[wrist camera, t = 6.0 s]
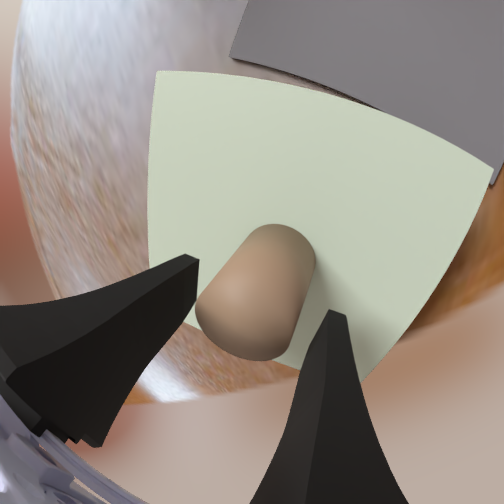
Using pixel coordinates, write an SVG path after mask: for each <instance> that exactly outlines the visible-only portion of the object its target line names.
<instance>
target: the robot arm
mask: <svg viewBox="0 0 504 504" xmlns="http://www.w3.org/2000/svg"><path fill="white" fill-rule="evenodd" d="M199 262H200V259H198V258H195V257H193V256H190V255H188V254H183V255H180V256H178V257H175V258H173V259H171V260H168V261H166V262H164V263H162V264H160V265H157V266H155V267H153V268H150V269H148V270H146V271H144V272H141V273H139V274H137V275H134V276H132V277H129V278H127V279H124V280H122V281H119V282H116V283H114V284H111V285H109V286H106V287H103V288H100V289H97V290H94V291H91V292H87V293H84V294H80V295H77V296H72V297H68V298H63V299H59V300H54V301H49V302H43V303H36V304H27V305H12V306H0V504H106V503H105V502H103V501H102V500H100V499H98V498H97V497H95V496H94V495H92V494H91V493H89V492H88V491H87V490H85V489H84V488H82V487H81V486H80V485H78V484H77V483H75V482H74V481H73V480H74V479H75V478H74V476H75V477H76V478H77V479H79V480H80V481H81V482H82V483H84V484H85V485H86V486H87V487H89V488H90V489H91V490H93V491H94V492H95V493H97V494H98V495H100V496H101V497H102V498H104V499H105V500H107V501H108V502H110V503H111V504H148V503H147V502H145V501H143V500H141V499H140V498H138V497H136V496H134V495H132V494H131V493H129V492H128V491H126V490H125V489H123V488H122V487H120V486H119V485H117V484H115V483H114V482H112V481H111V480H110V479H108V478H107V477H105V476H104V475H103V474H101V473H100V472H98V471H97V470H96V469H95V468H93V467H92V466H91V465H89V464H88V463H87V462H86V461H84V460H83V459H82V458H81V457H79V456H78V455H77V454H76V453H75V452H73V451H72V450H71V449H70V448H69V447H68V446H66V445H65V442H66V441H67V439H68V438H69V439H70V440H72V441H73V442H74V443H75V444H77V443H78V442H79V440H80V439H82V440H83V441H85V442H86V443H88V444H89V445H90V446H91V447H94V448H96V447H102V445H103V442H104V440H105V438H106V436H107V434H108V432H109V429H110V427H111V425H112V423H113V421H114V420H115V418H116V416H117V414H118V412H119V410H120V408H121V407H122V405H123V403H124V401H125V400H126V398H127V396H128V395H129V393H130V391H131V390H132V388H133V386H134V385H135V383H136V382H137V380H138V379H139V377H140V375H141V374H142V372H143V371H144V369H145V368H146V367H147V365H148V364H149V363H150V361H151V360H152V359H153V358H154V357H155V355H156V354H157V353H158V352H159V351H160V349H161V348H162V347H163V346H164V345H165V343H166V342H167V341H168V340H169V339H170V337H171V336H172V335H173V334H174V332H175V331H176V330H177V329H178V328H179V326H180V325H181V324H182V323H183V321H184V320H185V318H186V317H187V315H188V314H189V312H190V310H191V309H192V307H193V306H194V304H195V302H196V301H197V288H198V274H199ZM39 444H40V445H41V446H42V447H43V448H44V449H45V450H46V451H45V450H44V449H42V448H41V447H39ZM72 474H73V475H74V476H73V475H72ZM250 504H409V503H408V502H407V500H406V498H405V497H404V495H403V494H402V491H401V490H400V488H399V486H398V484H397V482H396V480H395V478H394V476H393V474H392V472H391V470H390V467H389V465H388V463H387V460H386V458H385V456H384V453H383V451H382V449H381V446H380V444H379V442H378V439H377V436H376V433H375V431H374V428H373V425H372V422H371V419H370V416H369V413H368V409H367V406H366V403H365V399H364V396H363V392H362V388H361V384H360V380H359V376H358V372H357V368H356V363H355V359H354V354H353V349H352V344H351V339H350V333H349V327H348V321H347V317H346V315H345V314H342V313H339V312H336V311H334V310H331V309H329V310H328V311H327V313H326V315H325V317H324V319H323V321H322V323H321V325H320V327H319V328H318V330H317V332H316V334H315V336H314V338H313V339H312V341H311V343H310V345H309V347H308V350H307V353H306V356H305V358H304V361H303V364H302V367H301V370H300V374H299V378H298V382H297V386H296V390H295V394H294V398H293V402H292V406H291V409H290V413H289V417H288V421H287V424H286V427H285V430H284V433H283V436H282V438H281V440H280V443H279V445H278V447H277V450H276V452H275V454H274V457H273V459H272V461H271V463H270V465H269V467H268V469H267V472H266V474H265V476H264V478H263V480H262V481H261V483H260V485H259V487H258V489H257V491H256V493H255V495H254V497H253V499H252V500H251V502H250Z"/></svg>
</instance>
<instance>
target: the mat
mask: <svg viewBox="0 0 504 504" xmlns="http://www.w3.org/2000/svg"><path fill="white" fill-rule="evenodd" d="M229 57H231V58H235V59H239V60H244V61H248V62H252V63H256V64H260V65H264V66H268V67H271V68H275V69H278V70H281V71H285V72H288V73H291V74H294V75H297V76H300V77H303V78H306V79H309V80H312V81H314V82H317V83H320V84H322V85H325V86H328V87H330V88H333V89H335V90H337V91H340V92H342V93H345V94H347V95H349V96H351V97H354V98H356V99H358V100H360V101H362V102H365V103H367V104H369V105H371V106H373V107H375V108H377V109H379V110H381V111H383V112H385V113H387V114H389V115H392V116H394V117H397V118H399V119H401V120H404V121H406V122H408V123H411V124H413V125H415V126H417V127H420V128H422V129H424V130H426V131H428V132H430V133H432V134H434V135H436V136H438V137H440V138H442V139H444V140H446V141H448V142H450V143H451V144H453V145H455V146H457V147H459V148H461V149H462V150H464V151H466V152H467V153H469V154H471V155H473V156H474V157H476V158H477V159H479V160H481V161H482V162H484V163H485V164H487V165H488V166H490V167H491V168H493V169H494V171H493V173H492V176H491V179H490V182H489V183H490V184H492V185H493V183H494V181H495V179H496V177H497V175H498V173H499V171H500V169H501V167H502V165H503V162H504V0H249V1H248V4H247V7H246V9H245V12H244V14H243V17H242V20H241V23H240V25H239V28H238V31H237V34H236V37H235V39H234V42H233V45H232V48H231V51H230V54H229Z"/></svg>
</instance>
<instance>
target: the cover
mask: <svg viewBox="0 0 504 504" xmlns="http://www.w3.org/2000/svg"><path fill="white" fill-rule="evenodd" d="M493 171H494V169H493V168H491V167H490V166H488V165H487V164H485V163H484V162H482V161H481V160H479V159H477V158H476V157H474V156H473V155H471V154H469V153H467V152H466V151H464V150H462V149H461V148H459V147H457V146H455V145H453V144H451V143H450V142H448V141H446V140H444V139H442V138H440V137H438V136H436V135H434V134H432V133H430V132H428V131H426V130H424V129H422V128H420V127H417V126H415V125H413V124H411V123H408V122H406V121H404V120H401V119H399V118H397V117H394V116H392V115H389V114H387V113H384V112H381V111H379V110H376V109H373V108H371V107H368V106H365V105H362V104H359V103H356V102H353V101H350V100H347V99H343V98H340V97H337V96H333V95H330V94H326V93H323V92H319V91H315V90H311V89H307V88H303V87H298V86H294V85H289V84H285V83H279V82H274V81H269V80H263V79H257V78H250V77H243V76H236V75H227V74H217V73H205V72H188V71H157V74H156V81H155V89H154V97H153V106H152V117H151V128H150V142H149V161H148V246H149V265H150V268H153V267H155V266H157V265H160V264H162V263H164V262H166V261H168V260H171V259H173V258H175V257H178V256H180V255H183V254H188V255H190V256H193V257H195V258H198V259H200V262H199V274H198V288H197V301H196V302H195V304H194V306H193V307H192V309H191V310H190V312H189V314H188V315H187V317H186V318H185V320H184V321H183V322H185V323H188V324H190V325H192V326H194V327H196V328H198V329H200V330H202V331H203V332H204V333H205V335H206V336H207V337H208V338H209V339H210V340H211V341H212V342H213V343H214V344H216V345H217V346H218V347H220V348H221V349H222V350H224V351H226V352H228V353H230V354H232V355H234V356H237V357H239V358H243V359H246V360H252V361H268V360H274V361H276V362H279V363H282V364H284V365H287V366H290V367H293V368H295V369H298V370H301V367H302V364H303V361H304V358H305V356H306V353H307V350H308V347H309V345H310V343H311V341H312V339H313V338H314V336H315V334H316V332H317V330H318V328H319V327H320V325H321V323H322V321H323V319H324V317H325V315H326V313H327V311H328V310H329V309H331V310H334V311H336V312H339V313H342V314H345V315H346V317H347V321H348V327H349V333H350V339H351V344H352V349H353V354H354V359H355V363H356V368H357V372H358V376H359V380H360V383H361V382H362V381H363V380H364V379H365V378H366V377H367V375H368V374H369V373H370V372H371V371H372V370H373V369H374V368H375V367H376V366H377V365H378V363H379V362H380V361H381V360H382V359H383V358H384V356H385V355H386V354H387V353H388V352H389V351H390V349H391V348H392V347H393V346H394V345H395V343H396V342H397V341H398V340H399V338H400V337H401V336H402V334H403V333H404V332H405V331H406V329H407V328H408V327H409V325H410V324H411V323H412V321H413V320H414V319H415V317H416V316H417V314H418V313H419V312H420V310H421V309H422V307H423V306H424V304H425V303H426V302H427V300H428V299H429V297H430V296H431V294H432V293H433V291H434V290H435V288H436V286H437V285H438V283H439V282H440V280H441V278H442V277H443V275H444V274H445V272H446V270H447V269H448V267H449V265H450V263H451V262H452V260H453V258H454V256H455V255H456V253H457V251H458V249H459V247H460V245H461V243H462V242H463V240H464V238H465V236H466V234H467V232H468V230H469V228H470V226H471V224H472V221H473V219H474V217H475V215H476V213H477V211H478V208H479V206H480V204H481V201H482V199H483V197H484V194H485V192H486V189H487V187H488V184H489V182H490V179H491V176H492V173H493Z"/></svg>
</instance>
